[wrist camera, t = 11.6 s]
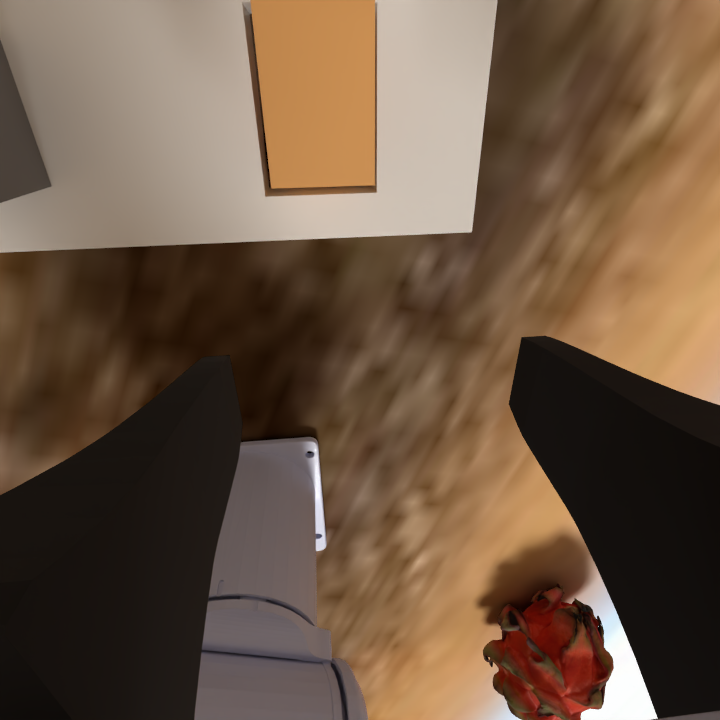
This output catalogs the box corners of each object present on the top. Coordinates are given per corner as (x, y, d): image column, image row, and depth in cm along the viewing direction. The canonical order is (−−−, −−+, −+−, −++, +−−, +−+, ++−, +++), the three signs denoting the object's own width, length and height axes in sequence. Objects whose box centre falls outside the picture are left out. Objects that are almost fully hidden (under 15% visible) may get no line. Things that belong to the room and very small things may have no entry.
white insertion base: (457, 220, 20) (510, 262, 14) (-70, 242, 18) (-224, 298, 13) (482, -49, 15) (572, -128, 10) (-222, -54, 13) (-557, -152, 8)
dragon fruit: (482, 632, 41) (528, 531, 37) (578, 691, 37) (640, 587, 33) (458, 715, 33) (512, 600, 29) (574, 797, 30) (654, 680, 26)
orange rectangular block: (356, 161, 18) (374, 185, 13) (282, 163, 18) (271, 188, 13) (353, 24, 16) (374, -14, 11) (269, 25, 16) (248, -14, 10)
